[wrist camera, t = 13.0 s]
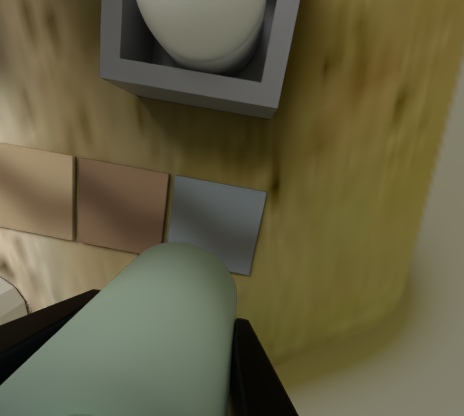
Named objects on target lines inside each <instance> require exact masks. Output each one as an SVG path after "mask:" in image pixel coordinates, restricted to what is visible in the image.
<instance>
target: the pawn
mask: <svg viewBox="0 0 464 416" xmlns="http://www.w3.org/2000/svg"><path fill="white" fill-rule="evenodd" d="M236 305H237V291H236V286H235V283H234V280H233V278H232V275H231V273H230V272H229V270H228V269H227V267H226V266H225V265H224V264H223V263H222V261H221V260H219V259H218V258H217V257H216V256H215V255H213V254H212V253H211V252H209V251H207V250H205V249H204V248H201V247H199V246H196V245H193V244H189V243H184V242H167V243H161V244H157V245H155V246H152V247H150V248H148V249H147V250H145V251H143V252H142V253H141V254H140V255H138V256H137V257H136V258H135V259H134V260H133V261H132V262H131V263H130V264H129V265H128V266H127V267H126V268H125V269H124V270H122V271H121V272H120V273H119V274H118V275H117V276H116V277H115V278H114V279H113V280H112V281H111V282H110V283H109V284H108V285H107V286H105V287H104V288H103V289H102V290H101V291H100V292H99V293H98V294H97V295H96V296H95V297H94V298H93V299H92V300H91V301H90V302H89V303H87V304H86V305H85V306H84V307H83V308H82V309H81V310H80V311H79V312H78V313H77V314H76V315H75V316H74V317H73V318H72V319H70V320H69V321H68V322H67V323H66V324H65V325H64V326H63V327H62V328H61V329H60V330H59V331H58V332H57V333H56V334H55V335H53V336H52V337H51V338H50V339H49V340H48V341H47V342H46V343H45V344H44V345H43V346H42V347H41V348H40V349H39V350H38V351H37V352H35V353H34V354H33V355H32V356H31V357H30V358H29V359H28V360H27V361H26V362H25V363H24V364H23V365H22V366H21V367H20V368H18V369H17V370H16V371H15V372H14V373H13V374H12V375H11V376H10V377H9V378H8V379H7V380H6V381H5V382H4V383H3V384H2V385H0V416H227V415H228V403H229V391H230V379H231V366H232V352H233V340H234V328H235V317H236Z"/></svg>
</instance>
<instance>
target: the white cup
mask: <svg viewBox="0 0 464 416" xmlns="http://www.w3.org/2000/svg"><path fill="white" fill-rule="evenodd" d="M25 315H28V313H27V309H26V305H25V301H24V299H23V298H22V297H21V295H20V294H19V292H18V291H17V290H16V288H15V287H14V286H12V285H11V284H10V283H8V282H7V281H5V280H4V279H2V278H1V277H0V325H2V324H5V323H7V322H10V321H12V320H15V319H18V318H20V317H23V316H25Z"/></svg>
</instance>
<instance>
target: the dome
mask: <svg viewBox="0 0 464 416" xmlns="http://www.w3.org/2000/svg"><path fill="white" fill-rule="evenodd" d="M136 1H137V4H138V7H139V10H140V12H141V14H142V16H143V19H144V21H145V23H146V24H147V26H148V28H149V29H150V31H151V32H152V34H153V35H154V37H155V38H156V39H157V40H158V42H159V43H160V44H161V45H162V47H163V48H164V49H165V50H166V51H167V53H168V54H169V55H170V56H171V57H172V59H173V60H174V61H175V62H176V64H177V65H178V66H179V67H180V68H181V69H185V70H191V71H197V72H202V73H208V74H214V75H220V76H226V77H230V76H232V75H234V74H236V73H237V72H239V71H240V70H242V69H243V68H244V67H245V66H246V65H247V64H248V62H249V61H250V60H251V59H252V57H253V56H254V54H255V52H256V50H257V48H258V46H259V43H260V40H261V36H262V31H263V23H264V14H265V5H266V0H136Z"/></svg>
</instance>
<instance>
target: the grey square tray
mask: <svg viewBox="0 0 464 416" xmlns="http://www.w3.org/2000/svg"><path fill="white" fill-rule="evenodd" d="M299 3H300V0H266V5H265V14H264V23H263V31H262V36H261V40H260V43H259V46H258V48H257V50H256V52H255V54H254V56H253V57H252V59H251V60H250V61H249V62H248V64H247V65H246V66H245V67H244V68H243V69H242V70H240V71H239V72H237V73H236V74H234V75H232V76H230V77H226V76H220V75H214V74H208V73H202V72H197V71H191V70H185V69H181V68H180V67H179V66H178V65H177V64H176V62H175V61H174V60H173V59H172V57H171V56H170V55H169V54H168V53H167V51H166V50H165V49H164V48H163V47H162V45H161V44H160V43H159V42H158V40H157V39H156V38H155V37H154V35H153V34H152V32H151V31H150V29H149V28H148V26H147V24H146V23H145V21H144V19H143V16H142V14H141V12H140V10H139V7H138V4H137V1H136V0H101V33H100V69H99V77H100V78H102V79H104V80H106V81H108V82H110V83H112V84H114V85H116V86H118V87H120V88H122V89H124V90H126V91H128V92H130V93H132V94H134V95H136V96H139V97H145V98H151V99H157V100H162V101H168V102H174V103H179V104H185V105H191V106H196V107H202V108H208V109H213V110H219V111H225V112H230V113H236V114H242V115H247V116H253V117H259V118H264V119H271V118H272V116H273V115H274V113H275V112H276V110H277V108H278V104H279V99H280V94H281V89H282V85H283V80H284V75H285V70H286V65H287V61H288V56H289V51H290V46H291V41H292V37H293V32H294V27H295V22H296V17H297V13H298V8H299Z"/></svg>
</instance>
